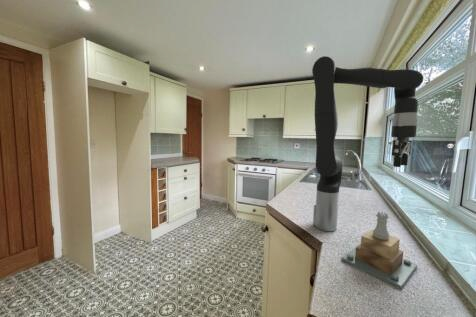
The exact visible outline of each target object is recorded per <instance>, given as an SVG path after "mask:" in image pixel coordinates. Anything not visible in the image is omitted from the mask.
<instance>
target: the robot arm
mask: <svg viewBox="0 0 476 317" xmlns="http://www.w3.org/2000/svg"><path fill="white" fill-rule="evenodd" d="M311 68H312V69H311V73H312V77H313V82H314V90H315V96H314V128H315V141H316V142H315V143H316V150H315V151H316V152H315V153H316V154H315V170H316V172H317V173H318V174H319V175H320V176H319V181H317V184H316V198H315V204H314V206H313V219H312V225H313V226H314V225H315V226H316V227H315V226H314V227H315V228H316V229H318V228H319V230H320V229H321V231H324V232H335V231H336V230H337V229H338V228H337V227H338V215H339V213H338V212H339V197H340V196H339V193H340V187H341V183H342V176H343V162H342V160H341V158H340V157H338V156H336V153H335V140H336V135H337V132H338V125H339V124H338V123H339V122H338V119H339V118H338V106H337V99H336V94H335V84H341V85H342V84H346V85H355V86H363V87H369V88H376V89H385V88H393V94H394V95H393V96H394V111H393V117H392V125H391V135H390V136H391V138H396V139H393V140H392V149H391V156H392V157H393V167H394V168H400V167H401V166H408V163H409V161H408V160H409V156H410V155H411V150H412V149H411V148H412V140H410V139H409V138H416V136H417V128H418V106H419V100H418V98H417V97H416V89H417V88H419V87H421V85H422V84H423V82H424V80H425V79H424V75H423V73H422V72H420V71H419V70H415V69H384V68H377V67H375V68H374V67H363V68H362V67H361V68H341V67H338V66H337V67H336V63H335V61H334V60H333V58H331V57H329V56H327V55H326V56H321V57H319V58H317V59H316V61H314V63H313V66H312V67H311Z"/></svg>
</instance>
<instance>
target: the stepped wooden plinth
mask: <svg viewBox="0 0 476 317" xmlns="http://www.w3.org/2000/svg"><path fill="white" fill-rule="evenodd" d="M373 230H374V229H370V230H368V231H367V232H366V233H363V234H362V235H361V236H360V237H361V239H360V244H358V245H357V246H355V248H356V253H355V259H357V260H359V261H361V262H363V263H365V264H368V265H370V266H372V267H374V268H376V269H379V270H381V271H383V272H385V273H387V274H390V275H391V274H393V273H394V272H395V271H396V270H397V269H398V268H399V266H400V265H401V264H402V261H403V258H404V251H403V250H401V249H399V248H400V238H398V237H395V236H392V235H389V236H388V237H389V239H388V240H380V239H377V238H375V237H374V236H373Z"/></svg>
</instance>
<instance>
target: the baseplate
mask: <svg viewBox="0 0 476 317" xmlns="http://www.w3.org/2000/svg"><path fill="white" fill-rule="evenodd" d="M355 253H356V247H355V248H353V249H352V250H350V251H348V252H347V253H346V254H344V255H343V256H341V258H340V259H341V261H342V262H344V263H346V264H348V265H350V266H352V267H354V268H356V269H359V270H360V271H363V272H365V273H366V274H368V275H370V276H373V277H375V278H377V279H378V280H381V281H382V282H385V283H387V284H389V285H391V286H393V287H395V288H397V289H399V290H402V289H403V287H404V285H405V284H406V283H407V282H408V281H409V279H410V278H411V277H412V275H413V273H414V272H415V271H416V269H417V268H418V264H417V263H414V262H412V261H410V260H408V259H403V261H402V264H401V265H400V266H399V268H398V269H397V270H396V271H395V272H394V273H393V274H391V275H390V274H387V273H385V272H383V271H381V270H379V269H376V268H374V267H372V266H370V265H368V264H365V263H363V262H361V261H359V260H357V259H355Z"/></svg>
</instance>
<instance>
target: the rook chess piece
mask: <svg viewBox="0 0 476 317" xmlns="http://www.w3.org/2000/svg"><path fill="white" fill-rule="evenodd" d="M376 217H377V219H376V225H375V226H376V227H375V228H374V229H372V230H373V236H374V237H375V238H377V239H380V240H388V239H389V237H388V236H390V233H389V231H388V227H387V225H388V224H387V223H388V219H389V215H388V213H386V212H383V211H381V212H380V211H378V212H377V214H376Z"/></svg>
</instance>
